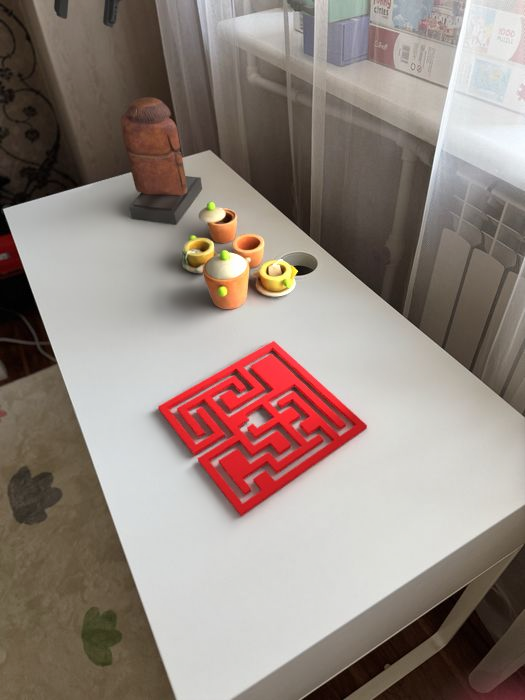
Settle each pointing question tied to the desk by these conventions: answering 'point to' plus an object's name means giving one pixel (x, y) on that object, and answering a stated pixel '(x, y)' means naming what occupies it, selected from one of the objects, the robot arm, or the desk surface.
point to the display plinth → (165, 204)
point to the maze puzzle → (235, 461)
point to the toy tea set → (234, 261)
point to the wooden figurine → (153, 148)
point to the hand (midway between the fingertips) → (84, 21)
